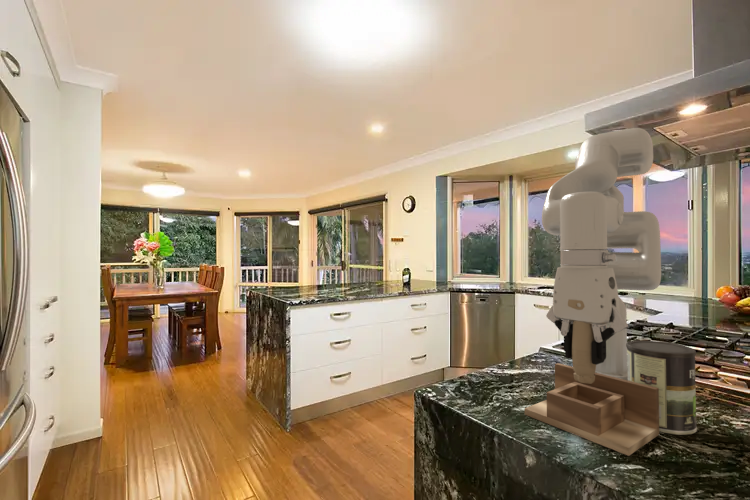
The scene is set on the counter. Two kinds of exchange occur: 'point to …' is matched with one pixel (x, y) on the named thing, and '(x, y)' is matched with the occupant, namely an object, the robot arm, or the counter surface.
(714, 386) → the counter surface
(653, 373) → the coffee can
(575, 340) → the handle
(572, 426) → the wooden box holder
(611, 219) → the robot arm
